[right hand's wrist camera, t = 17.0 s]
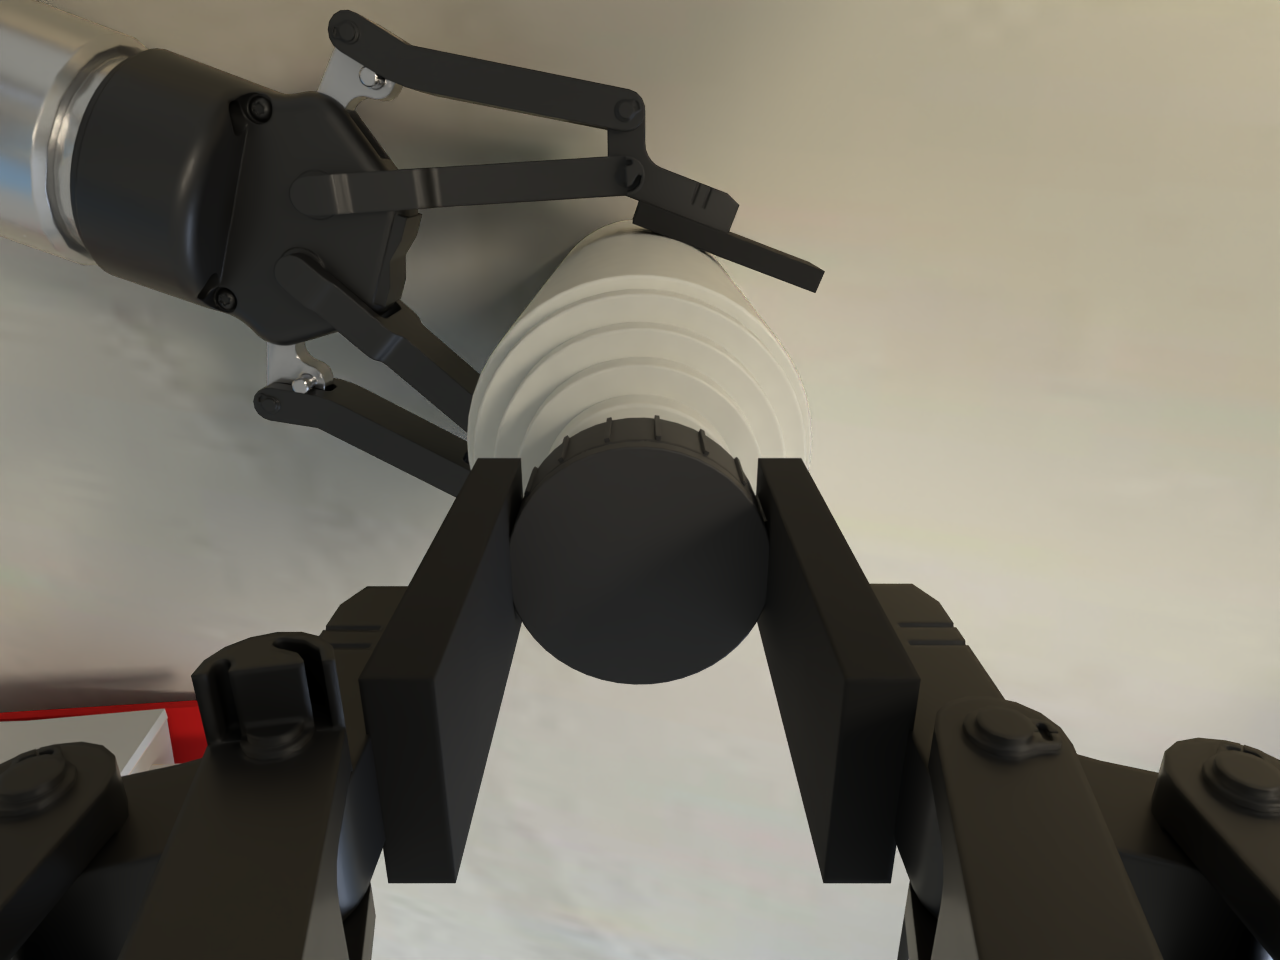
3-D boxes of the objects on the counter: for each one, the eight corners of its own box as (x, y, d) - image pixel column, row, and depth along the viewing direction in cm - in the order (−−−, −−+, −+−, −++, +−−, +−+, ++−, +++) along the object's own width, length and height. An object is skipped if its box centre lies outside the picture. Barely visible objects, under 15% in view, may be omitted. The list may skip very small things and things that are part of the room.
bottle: (693, 426, 37) (768, 797, 15) (526, 370, 36) (357, 682, 14) (759, 256, 34) (962, 418, 13) (580, 191, 33) (469, 246, 12)
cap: (775, 417, 14) (790, 448, 12) (751, 640, 15) (763, 692, 14) (516, 407, 14) (501, 437, 12) (519, 632, 15) (506, 683, 14)
